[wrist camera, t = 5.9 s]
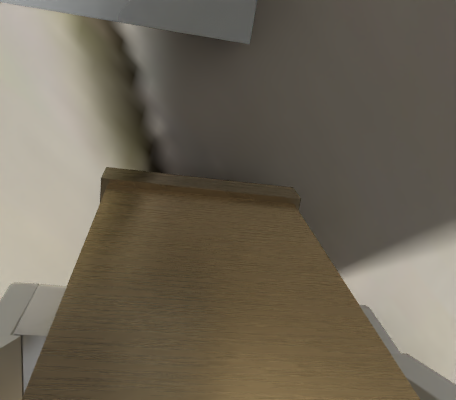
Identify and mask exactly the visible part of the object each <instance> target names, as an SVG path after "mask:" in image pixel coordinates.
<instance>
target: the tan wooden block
mask: <svg viewBox="0 0 456 400" xmlns="http://www.w3.org/2000/svg"><path fill="white" fill-rule="evenodd" d="M300 201H301V198H300V197H299V195H298V194H297V193H296V191H295V190H294V188H293V187H284V186H275V185H266V184H256V183H247V182H238V181H229V180H220V179H210V178H201V177H192V176H183V175H174V174H165V173H155V172H146V171H137V170H128V169H119V168H109V167H106V169H105V171H104V173H103V175H102V178H101V193H100V205H99V208H98V210H97V213H96V215H95V218H94V220H93V223H92V225H91V228H90V230H89V233H88V235H87V238H86V240H85V243H84V245H83V248H82V250H81V253H80V255H79V258H78V260H77V263H76V265H75V268H74V270H73V273H72V275H71V278H70V280H69V283H68V285H67V288H66V290H65V293H64V295H63V297H62V300H61V302H60V305H59V307H58V310H57V312H56V315H55V317H54V320H53V322H52V325H51V327H50V330H49V332H48V335H47V337H46V340H45V342H44V345H43V347H42V350H41V352H40V355H39V357H38V360H37V362H36V365H35V367H34V370H33V372H32V375H31V377H30V380H29V382H28V385H27V387H26V390H25V392H24V395H23V397H22V400H420V398H419V397H418V395H417V394H416V392H415V391H414V389H413V388H412V386H411V384H410V383H409V381H408V380H407V378H406V377H405V375H404V374H403V372H402V371H401V369H400V367H399V366H398V364H397V363H396V361H395V360H394V358H393V357H392V355H391V353H390V352H389V350H388V349H387V347H386V346H385V344H384V343H383V341H382V340H381V338H380V336H379V335H378V333H377V332H376V330H375V329H374V327H373V326H372V324H371V323H370V321H369V319H368V318H367V316H366V315H365V313H364V312H363V310H362V309H361V307H360V305H359V304H358V302H357V301H356V299H355V298H354V296H353V295H352V293H351V292H350V290H349V288H348V287H347V285H346V284H345V282H344V281H343V279H342V278H341V276H340V275H339V273H338V271H337V270H336V268H335V267H334V265H333V264H332V262H331V261H330V259H329V257H328V256H327V254H326V253H325V251H324V250H323V248H322V247H321V245H320V244H319V242H318V240H317V239H316V237H315V236H314V234H313V233H312V231H311V230H310V228H309V226H308V225H307V223H306V222H305V220H304V219H303V217H302V216H301V214H300V213H299V211H298V210H299V206H300Z"/></svg>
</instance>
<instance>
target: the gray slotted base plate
mask: <svg viewBox="0 0 456 400" xmlns="http://www.w3.org/2000/svg"><path fill="white" fill-rule="evenodd" d="M0 2H3V3H9V4H15V5H21V6H27V7H33V8H39V9H45V10H51V11H56V12H62V13H68V14H74V15H80V16H86V17H92V18H98V19H104V20H109V21H115V22H121V23H127V24H133V25H139V26H145V27H151V28H157V29H163V30H168V31H174V32H180V33H186V34H192V35H198V36H204V37H210V38H216V39H221V40H227V41H233V42H239V43H245V44H250V40H251V34H252V28H253V22H254V16H255V10H256V4H257V0H0Z"/></svg>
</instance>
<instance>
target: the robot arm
mask: <svg viewBox="0 0 456 400" xmlns="http://www.w3.org/2000/svg"><path fill="white" fill-rule="evenodd" d="M66 288H67V286H58V285H46V284H40V285H39V284H34V283H18V282H15V283H13V284H11V285H10V286H9V287H8V289H7V290H6V292H5V294H4V295H3V297H2V298H1V300H0V400H22V397H23V395H24V392H25V390H26V387H27V385H28V382H29V380H30V377H31V375H32V372H33V370H34V367H35V365H36V362H37V360H38V357H39V355H40V352H41V350H42V347H43V345H44V342H45V340H46V337H47V335H48V332H49V330H50V327H51V325H52V322H53V320H54V317H55V315H56V312H57V310H58V307H59V305H60V302H61V300H62V297H63V295H64V293H65V290H66ZM360 307H361V309H362V310H363V312H364V313H365V315H366V316H367V318H368V319H369V321H370V323H371V324H372V326H373V327H374V329H375V330H376V332H377V333H378V335H379V336H380V338H381V340H382V341H383V343H384V344H385V346H386V347H387V349H388V350H389V352H390V353H391V355H392V357H393V358H394V360H395V361H396V363H397V364H398V366H399V367H400V369H401V371H402V372H403V374H404V375H405V377H406V378H407V380H408V381H409V383H410V384H411V386H412V388H413V389H414V391H415V392H416V394H417V395H418V397H419V398H420V400H456V384H454V383H452V382H451V381H449V380H448V379H446V378H445V377H443V376H441V375H440V374H438V373H437V372H435V371H434V370H432V369H430V368H429V367H427V366H426V365H424V364H423V363H421V362H419V361H418V360H416V359H415V358H413V357H412V356H410V355H408V354H401V353H400V351H399V350H398V349H397V347H396V346H395V344H394V343H393V341H392V340H391V338H390V337H389V335H388V334H387V332H386V331H385V329H384V328H383V327H382V325H381V324H380V322H379V321H378V319H377V318H376V316H375V315H374V313H373V312H372V310H371V309H370V308H369V307H367V306H366V305H360Z"/></svg>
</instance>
